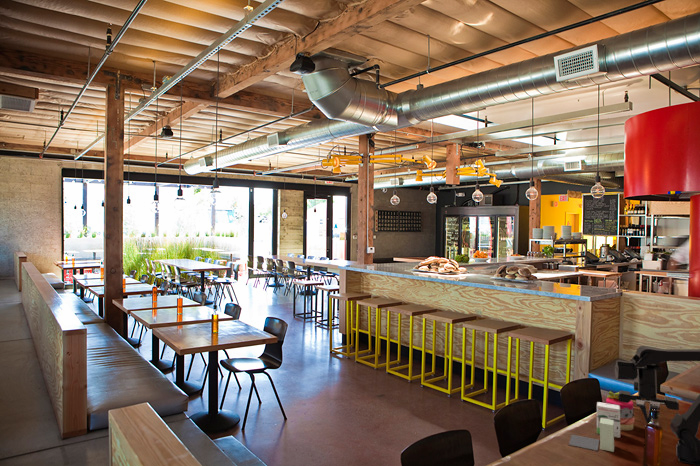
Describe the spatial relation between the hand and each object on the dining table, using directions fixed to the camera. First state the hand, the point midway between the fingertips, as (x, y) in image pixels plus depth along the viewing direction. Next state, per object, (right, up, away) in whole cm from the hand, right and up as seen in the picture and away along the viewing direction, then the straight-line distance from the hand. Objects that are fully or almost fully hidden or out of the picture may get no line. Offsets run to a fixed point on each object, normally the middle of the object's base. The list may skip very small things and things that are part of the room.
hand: (648, 423), depth 170 cm
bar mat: (-18, -12, +11) cm, 25 cm away
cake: (+6, -13, +28) cm, 31 cm away
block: (-12, -12, +7) cm, 18 cm away
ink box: (-4, -13, +19) cm, 24 cm away
